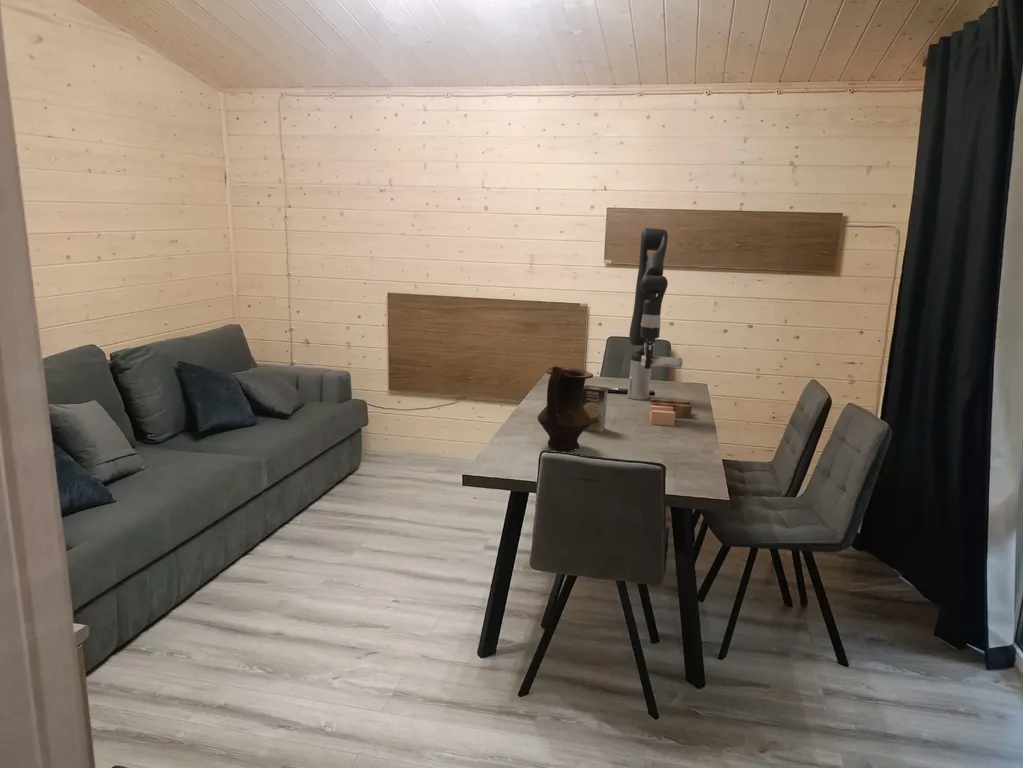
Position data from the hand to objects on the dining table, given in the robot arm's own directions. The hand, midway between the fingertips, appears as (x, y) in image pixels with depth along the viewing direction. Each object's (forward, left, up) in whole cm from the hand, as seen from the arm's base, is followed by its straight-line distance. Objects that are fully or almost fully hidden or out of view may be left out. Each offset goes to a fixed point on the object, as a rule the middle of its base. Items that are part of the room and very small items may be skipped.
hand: (647, 367), depth 295 cm
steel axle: (+5, 0, +1) cm, 6 cm away
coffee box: (-21, -27, -20) cm, 39 cm away
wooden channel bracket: (+11, +5, -20) cm, 23 cm away
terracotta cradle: (+7, -8, -20) cm, 23 cm away
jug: (-31, -54, -20) cm, 65 cm away
